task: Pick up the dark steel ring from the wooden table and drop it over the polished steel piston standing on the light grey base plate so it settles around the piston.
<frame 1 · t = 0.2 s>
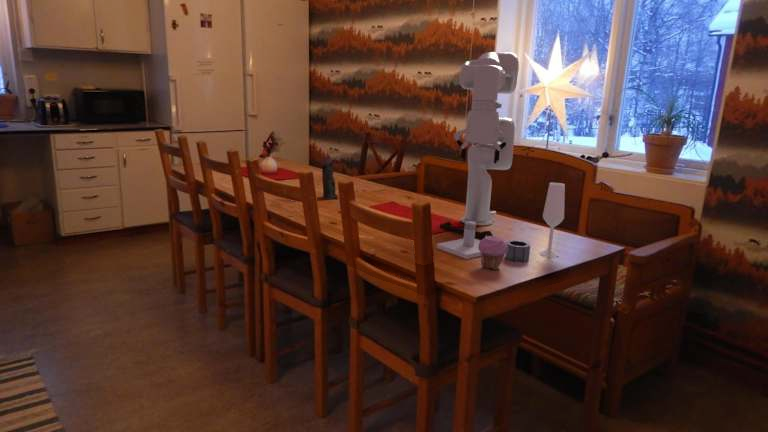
hand: (479, 162, 168), 31 cm above the table, tool pointing down, fingers open, 9 cm apart
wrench: (469, 237, 199), on the table
cupcake: (491, 268, 164), on the table
statue: (329, 198, 253), on the table
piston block: (468, 249, 181), on the table
steel ring: (516, 258, 174), on the table
champagne flute: (548, 255, 179), on the table
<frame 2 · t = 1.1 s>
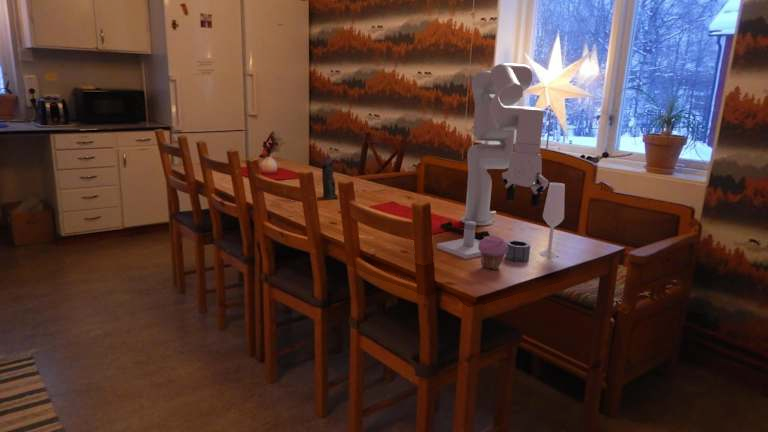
hand: (522, 203, 169), 18 cm above the table, tool pointing down, fingers open, 9 cm apart
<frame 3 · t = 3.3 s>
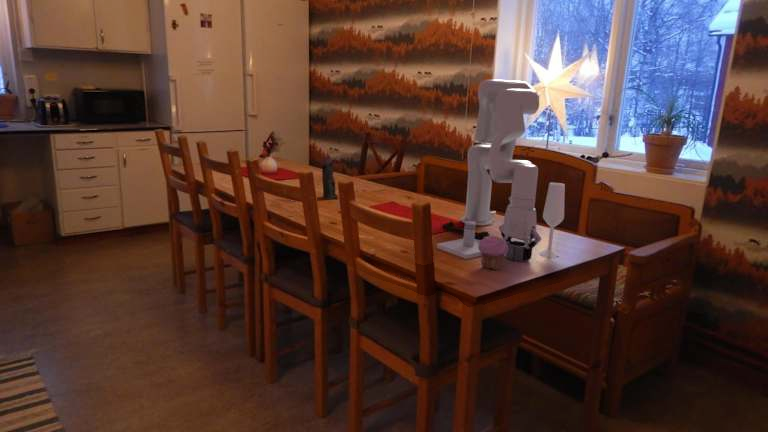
hand: (517, 255, 174), 1 cm above the table, tool pointing down, fingers closed on steel ring, 7 cm apart
steel ring: (516, 258, 174), on the table, touching gripper
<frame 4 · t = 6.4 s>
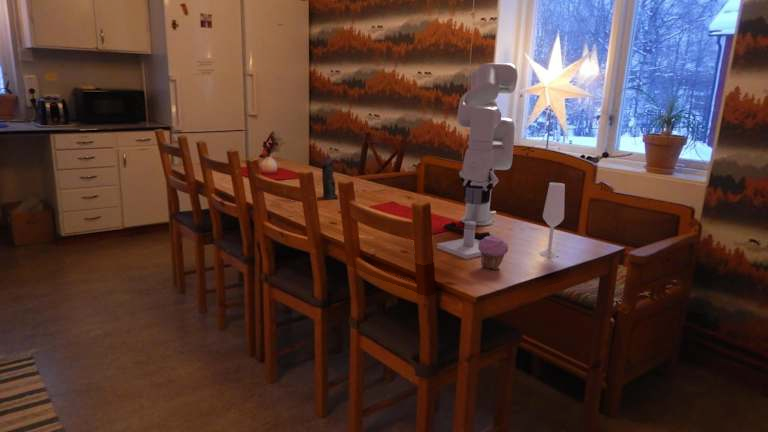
hand: (476, 199, 177), 18 cm above the table, tool pointing down, fingers closed on steel ring, 7 cm apart
steel ring: (476, 202, 177), point 17 cm above the table, touching gripper
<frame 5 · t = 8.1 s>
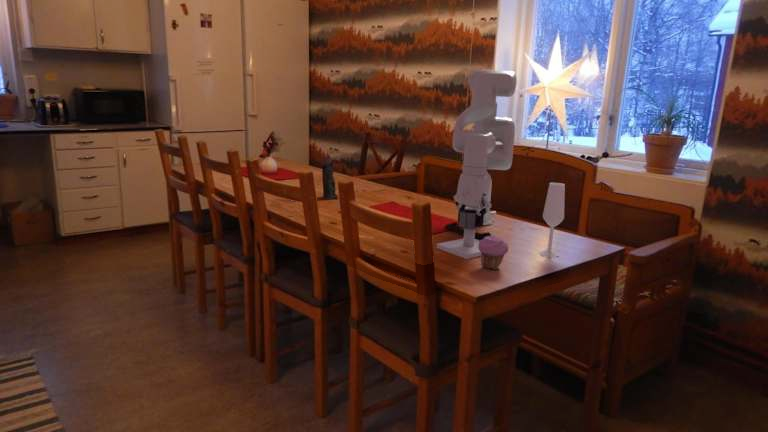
hand: (470, 223, 179), 9 cm above the table, tool pointing down, fingers closed on steel ring, 7 cm apart
steel ring: (469, 226, 179), point 8 cm above the table, touching gripper
when the fingers open (4 cm above the table, at t = 9.7 s): steel ring drops 2 cm, resting on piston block.
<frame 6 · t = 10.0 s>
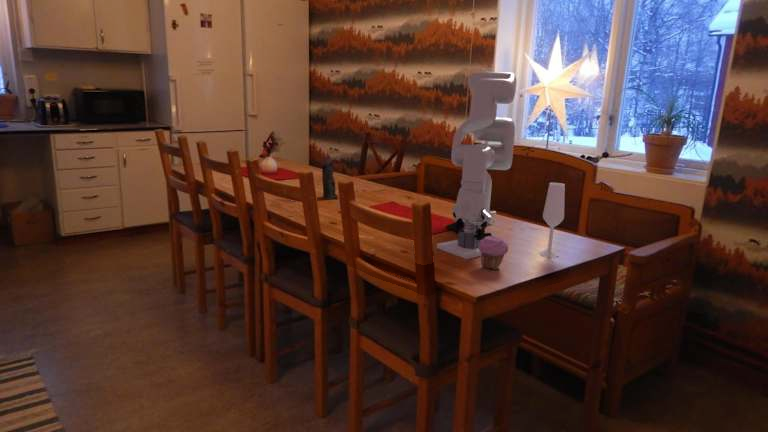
hand: (469, 236, 180), 5 cm above the table, tool pointing down, fingers open, 9 cm apart
steel ring: (468, 245, 181), point 1 cm above the table, touching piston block
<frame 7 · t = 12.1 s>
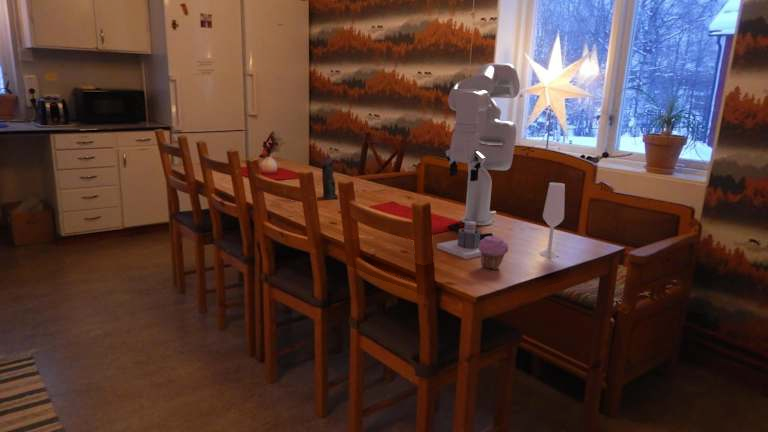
hand: (463, 178, 185), 23 cm above the table, tool pointing down, fingers open, 9 cm apart
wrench: (474, 238, 196), on the table, touching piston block
everything else where it was.
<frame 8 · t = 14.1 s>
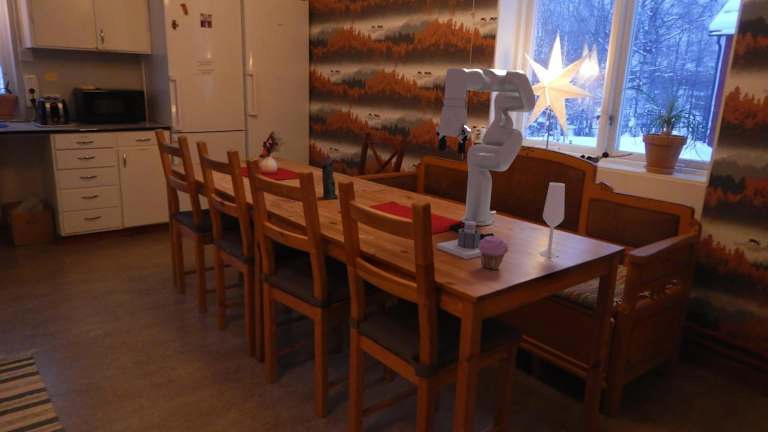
hand: (451, 151, 195), 30 cm above the table, tool pointing down, fingers open, 9 cm apart
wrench: (475, 239, 196), on the table
everything else where it was.
at the end: steel ring 0.0 cm off-centre on the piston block, point 1.5 cm above the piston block's base; steel ring tilted 0°; the gripper is holding nothing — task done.
